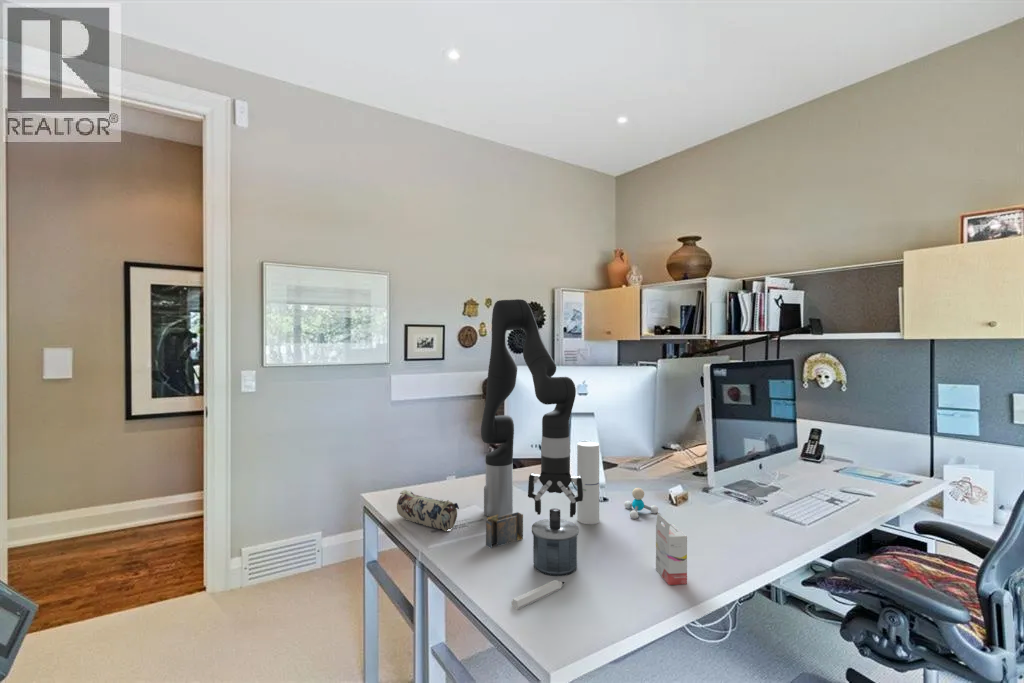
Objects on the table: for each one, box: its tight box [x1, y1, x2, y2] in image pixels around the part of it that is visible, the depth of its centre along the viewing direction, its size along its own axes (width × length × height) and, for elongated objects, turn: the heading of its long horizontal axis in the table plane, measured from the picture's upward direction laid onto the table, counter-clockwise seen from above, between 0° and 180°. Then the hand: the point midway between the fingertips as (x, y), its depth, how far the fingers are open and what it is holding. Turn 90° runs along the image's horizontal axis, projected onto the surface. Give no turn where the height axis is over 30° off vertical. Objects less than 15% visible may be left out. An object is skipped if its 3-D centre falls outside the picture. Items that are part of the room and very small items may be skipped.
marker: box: [511, 579, 566, 611], centre depth 111 cm, size 3×2×16 cm
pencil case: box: [396, 489, 460, 532], centre depth 155 cm, size 22×8×10 cm, turn 55°
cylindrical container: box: [576, 441, 600, 525], centre depth 158 cm, size 7×7×25 cm
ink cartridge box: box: [655, 512, 688, 586], centre depth 120 cm, size 9×5×15 cm, turn 5°
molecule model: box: [623, 487, 659, 520], centre depth 165 cm, size 12×12×9 cm
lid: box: [531, 507, 579, 541], centre depth 126 cm, size 12×12×6 cm
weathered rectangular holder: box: [485, 511, 524, 549], centre depth 141 cm, size 11×3×10 cm, turn 125°
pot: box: [532, 534, 578, 577], centre depth 126 cm, size 11×14×9 cm
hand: (555, 515), depth 126 cm, fingers open, 8 cm apart
